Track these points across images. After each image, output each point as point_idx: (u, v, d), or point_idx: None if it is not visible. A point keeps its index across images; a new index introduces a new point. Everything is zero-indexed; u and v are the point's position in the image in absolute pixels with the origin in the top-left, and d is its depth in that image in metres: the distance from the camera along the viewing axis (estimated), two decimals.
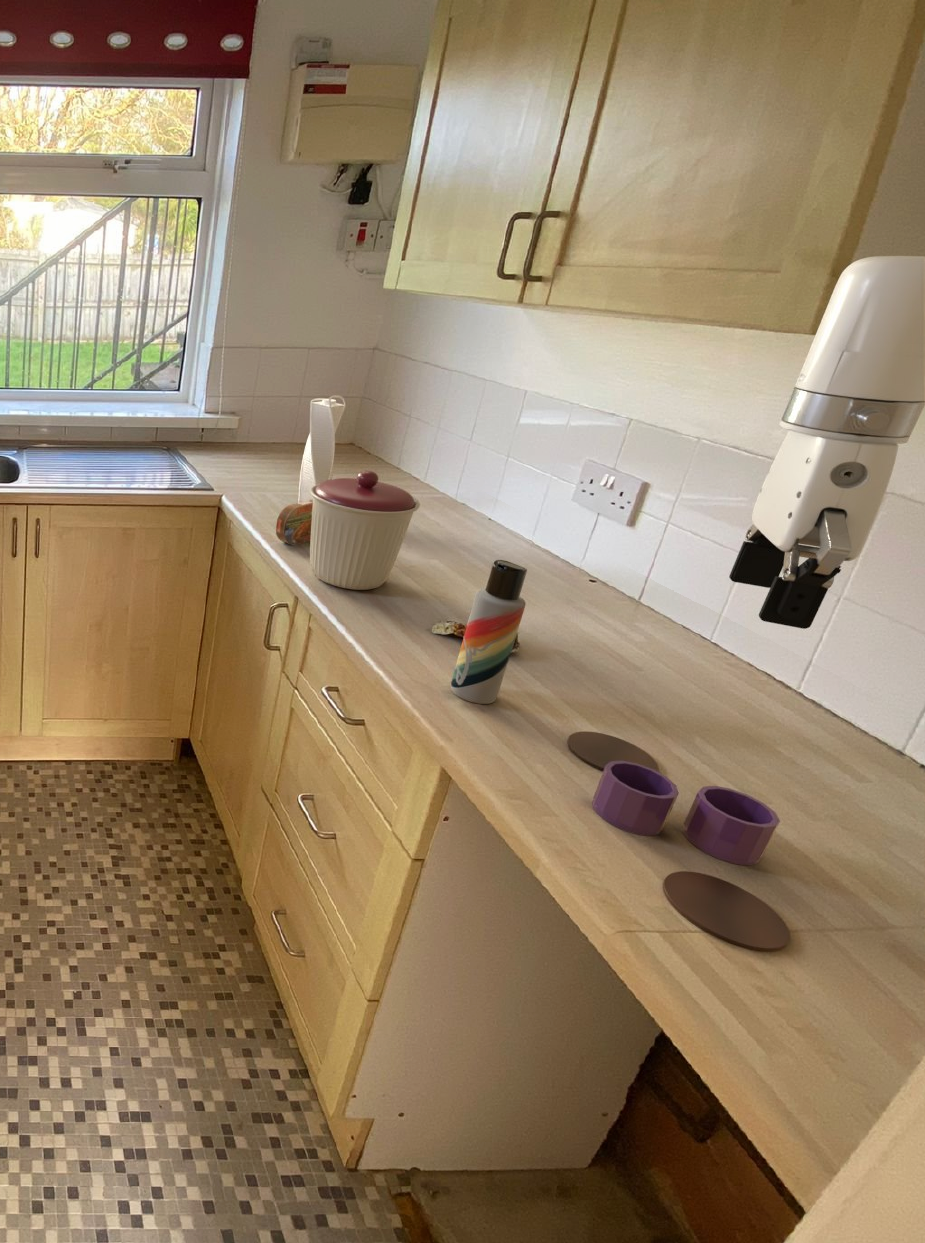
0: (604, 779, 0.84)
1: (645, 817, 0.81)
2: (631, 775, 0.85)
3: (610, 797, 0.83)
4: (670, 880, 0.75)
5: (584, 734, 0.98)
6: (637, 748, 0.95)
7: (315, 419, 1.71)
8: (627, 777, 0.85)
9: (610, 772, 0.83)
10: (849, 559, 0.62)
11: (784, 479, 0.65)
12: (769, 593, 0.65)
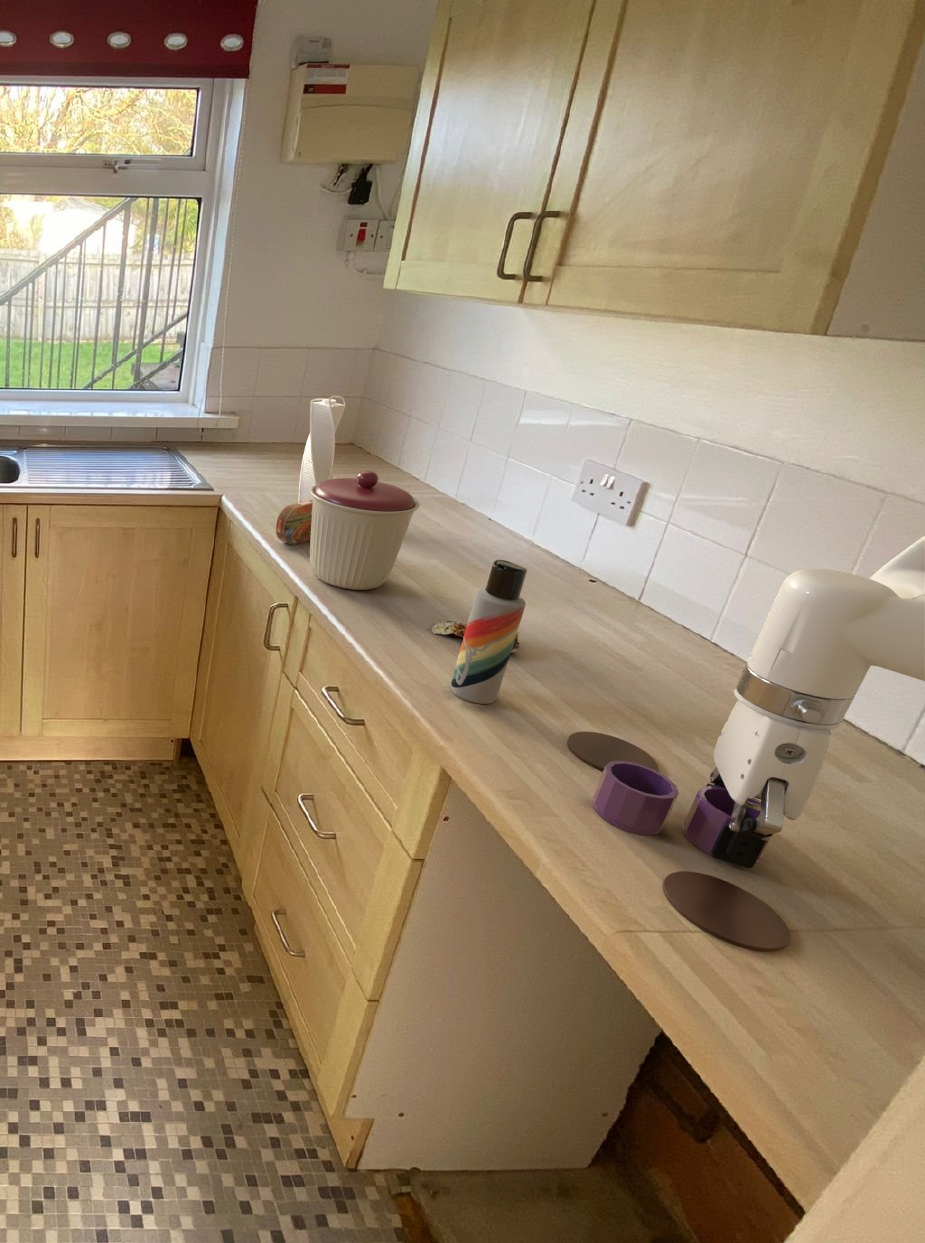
0: (604, 779, 0.84)
1: (645, 817, 0.81)
2: (631, 775, 0.85)
3: (610, 797, 0.83)
4: (670, 880, 0.75)
5: (584, 734, 0.98)
6: (637, 748, 0.95)
7: (315, 419, 1.71)
8: (627, 777, 0.85)
9: (610, 772, 0.83)
10: (791, 819, 0.73)
11: (738, 740, 0.76)
12: (719, 836, 0.77)
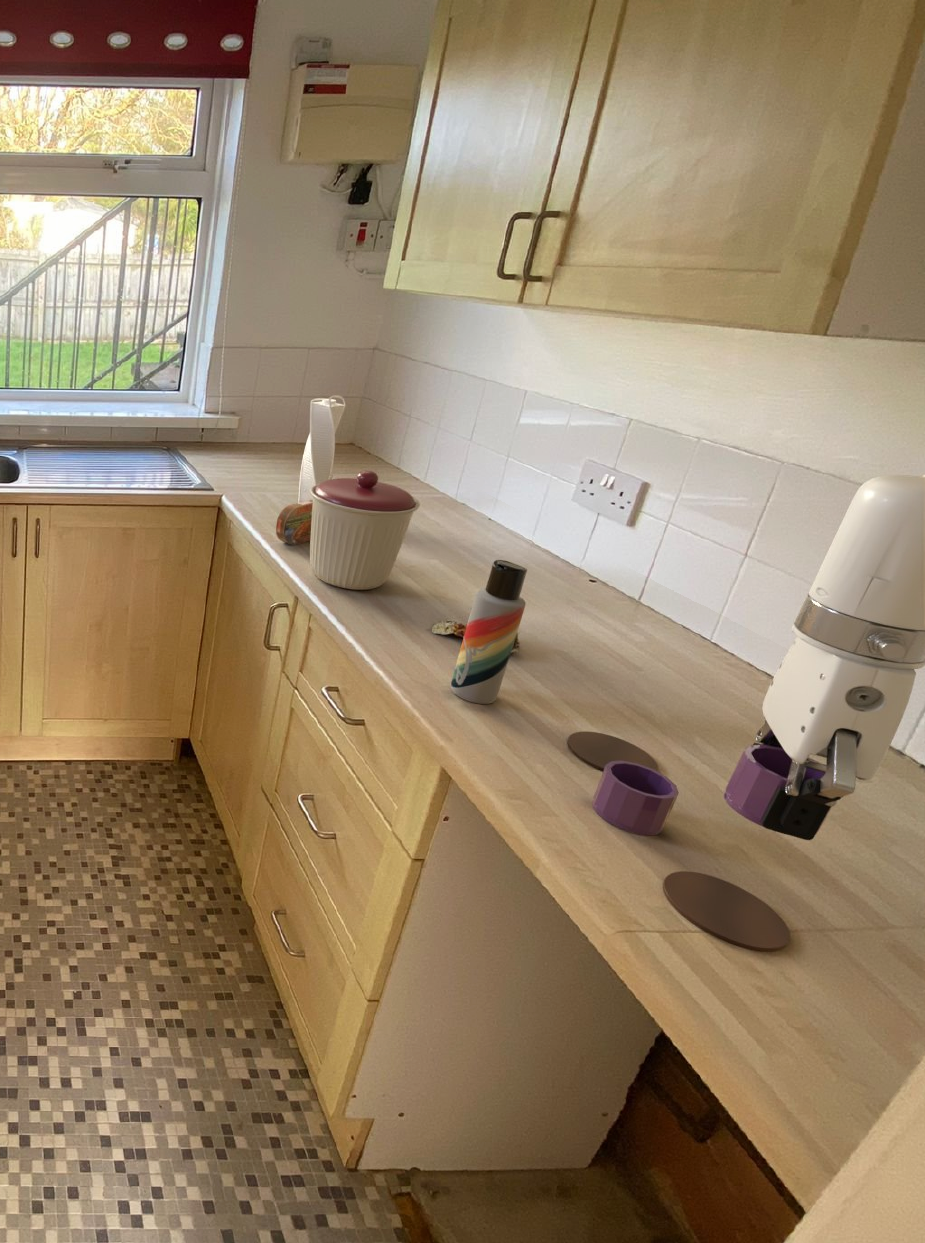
0: (604, 779, 0.84)
1: (645, 817, 0.81)
2: (631, 775, 0.85)
3: (610, 797, 0.83)
4: (670, 880, 0.75)
5: (584, 734, 0.98)
6: (637, 748, 0.95)
7: (315, 419, 1.71)
8: (627, 777, 0.85)
9: (610, 772, 0.83)
10: (863, 779, 0.60)
11: (796, 686, 0.63)
12: (772, 802, 0.65)
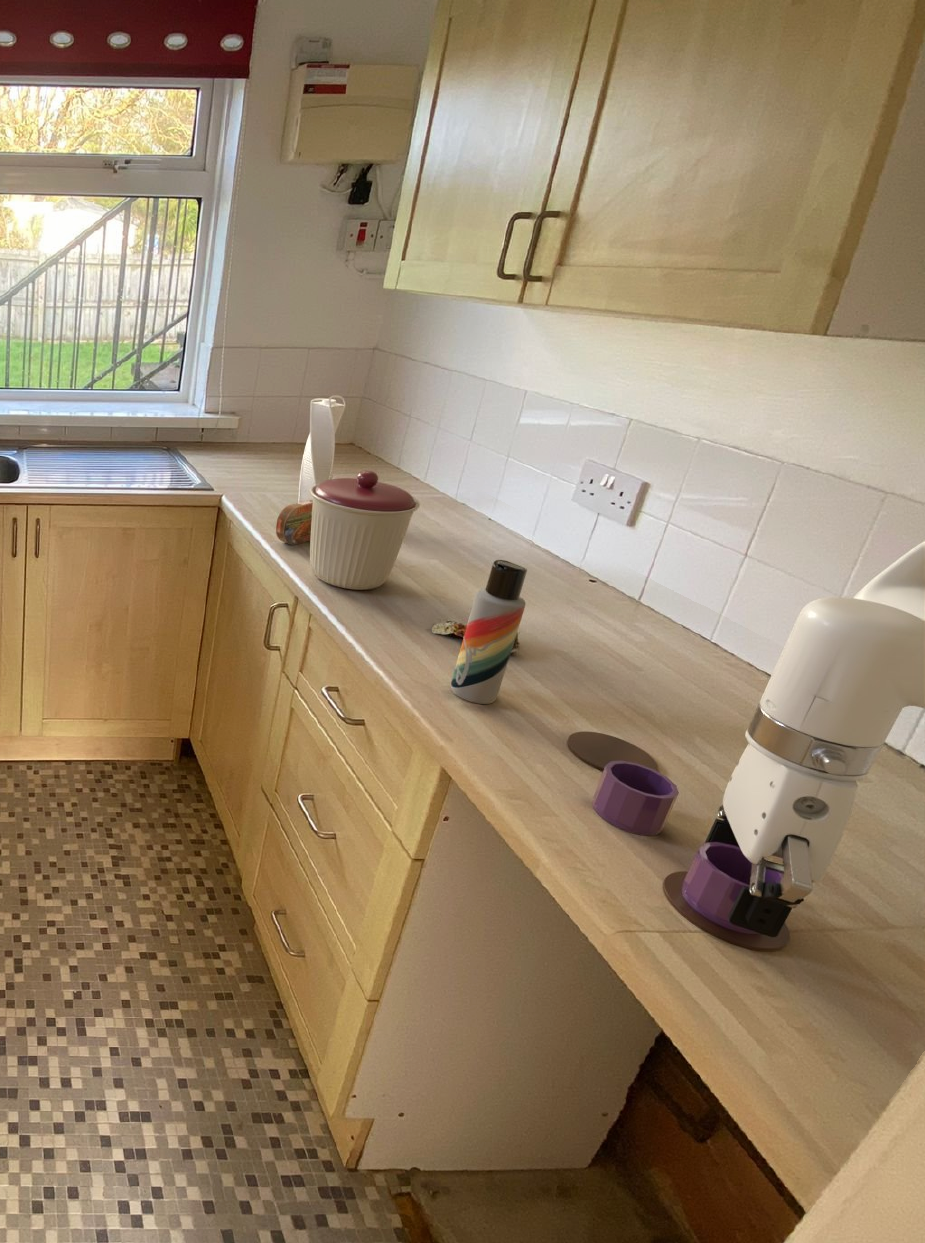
0: (604, 779, 0.84)
1: (645, 817, 0.81)
2: (631, 775, 0.85)
3: (610, 797, 0.83)
4: (670, 880, 0.75)
5: (584, 734, 0.98)
6: (637, 748, 0.95)
7: (315, 419, 1.71)
8: (627, 777, 0.85)
9: (610, 772, 0.83)
10: (813, 881, 0.64)
11: (750, 789, 0.67)
12: (737, 900, 0.67)
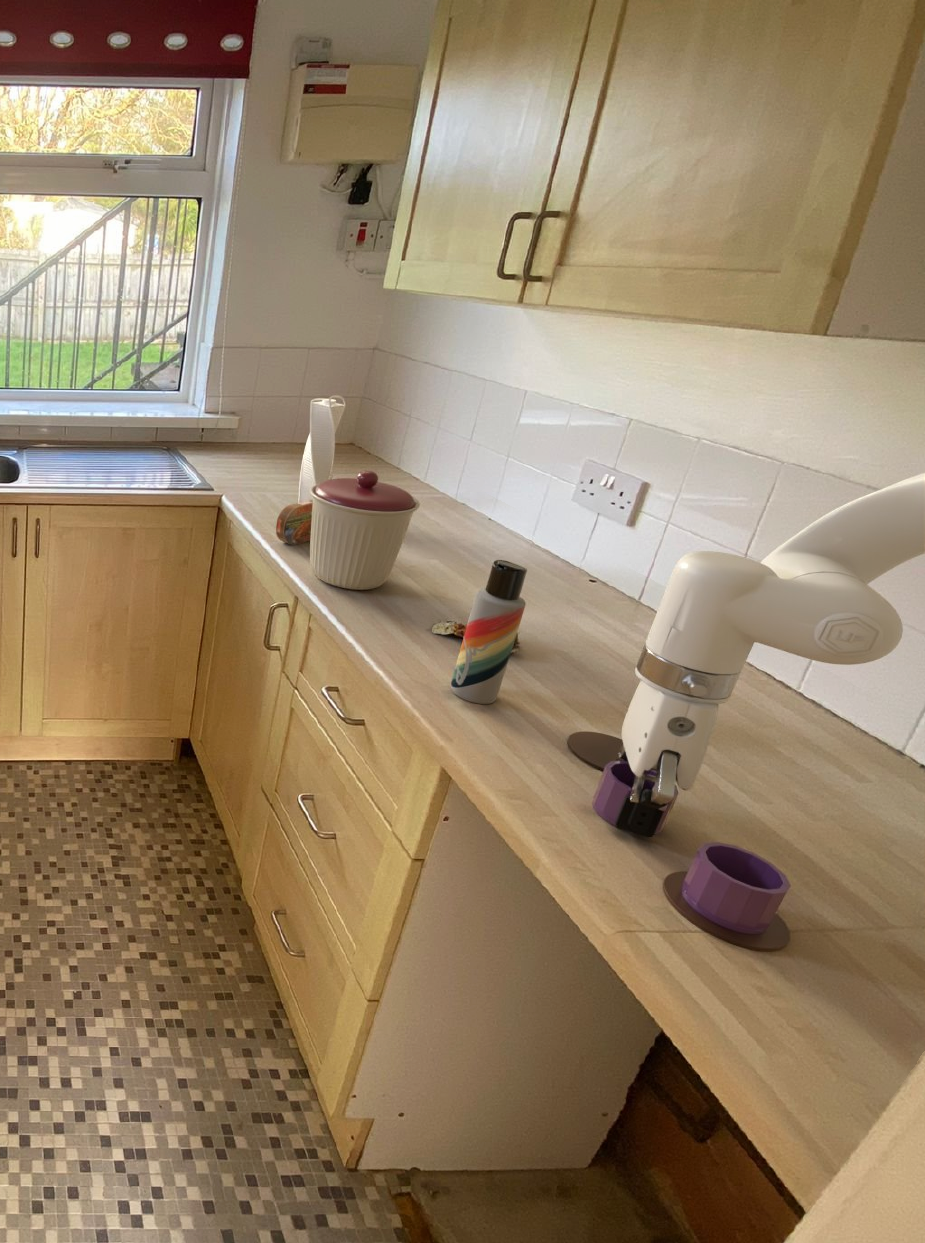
0: (604, 779, 0.84)
1: None
2: (631, 775, 0.85)
3: (610, 797, 0.83)
4: (670, 880, 0.75)
5: (584, 734, 0.98)
6: None
7: (315, 419, 1.71)
8: (627, 777, 0.85)
9: (610, 772, 0.83)
10: (685, 789, 0.77)
11: (638, 715, 0.80)
12: (621, 807, 0.81)
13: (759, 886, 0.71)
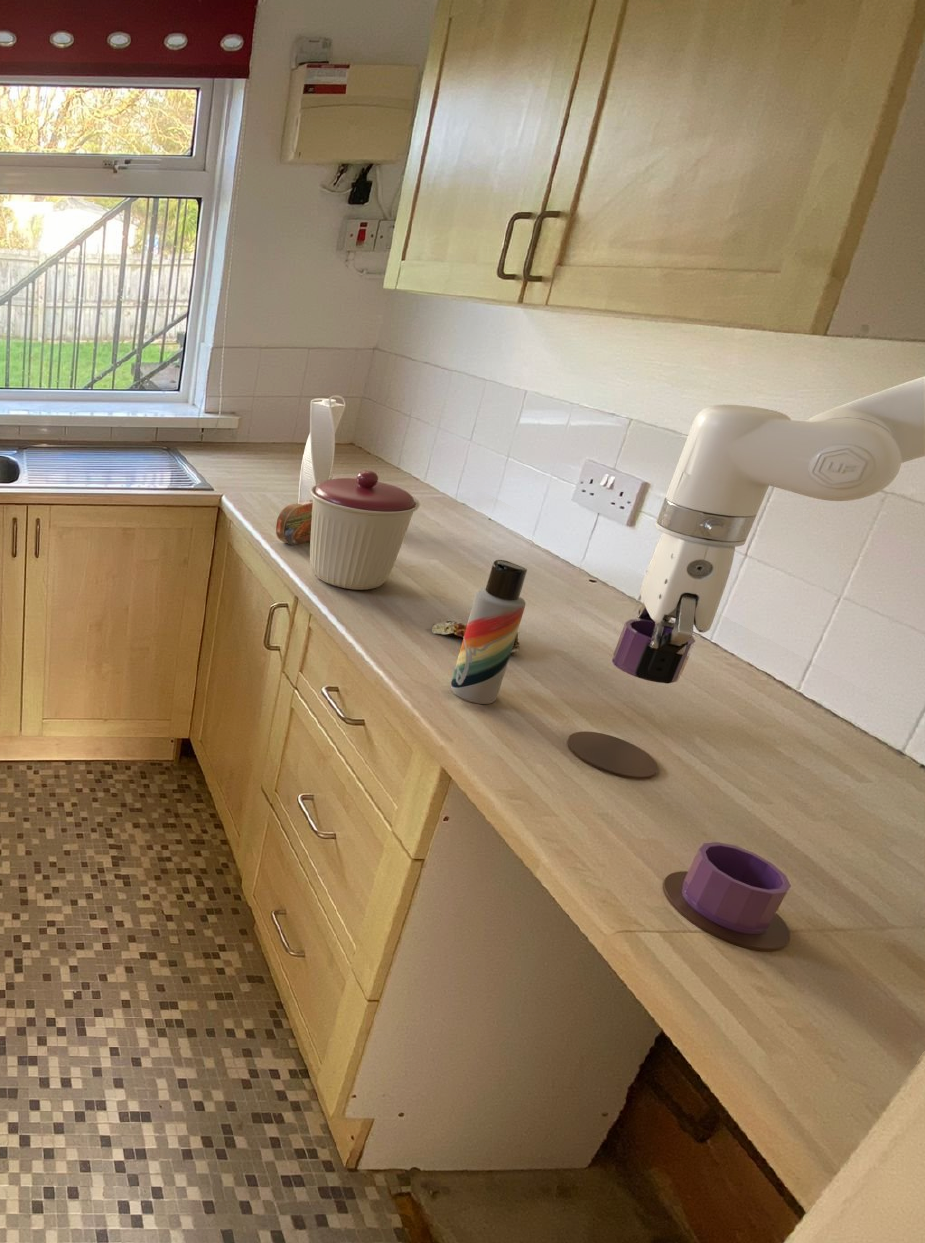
0: (624, 634, 0.89)
1: None
2: (649, 632, 0.90)
3: (630, 649, 0.88)
4: (670, 880, 0.75)
5: (584, 734, 0.98)
6: (637, 748, 0.95)
7: (315, 419, 1.71)
8: (645, 635, 0.90)
9: (630, 626, 0.88)
10: (702, 631, 0.82)
11: (658, 567, 0.85)
12: (642, 656, 0.86)
13: (759, 886, 0.71)
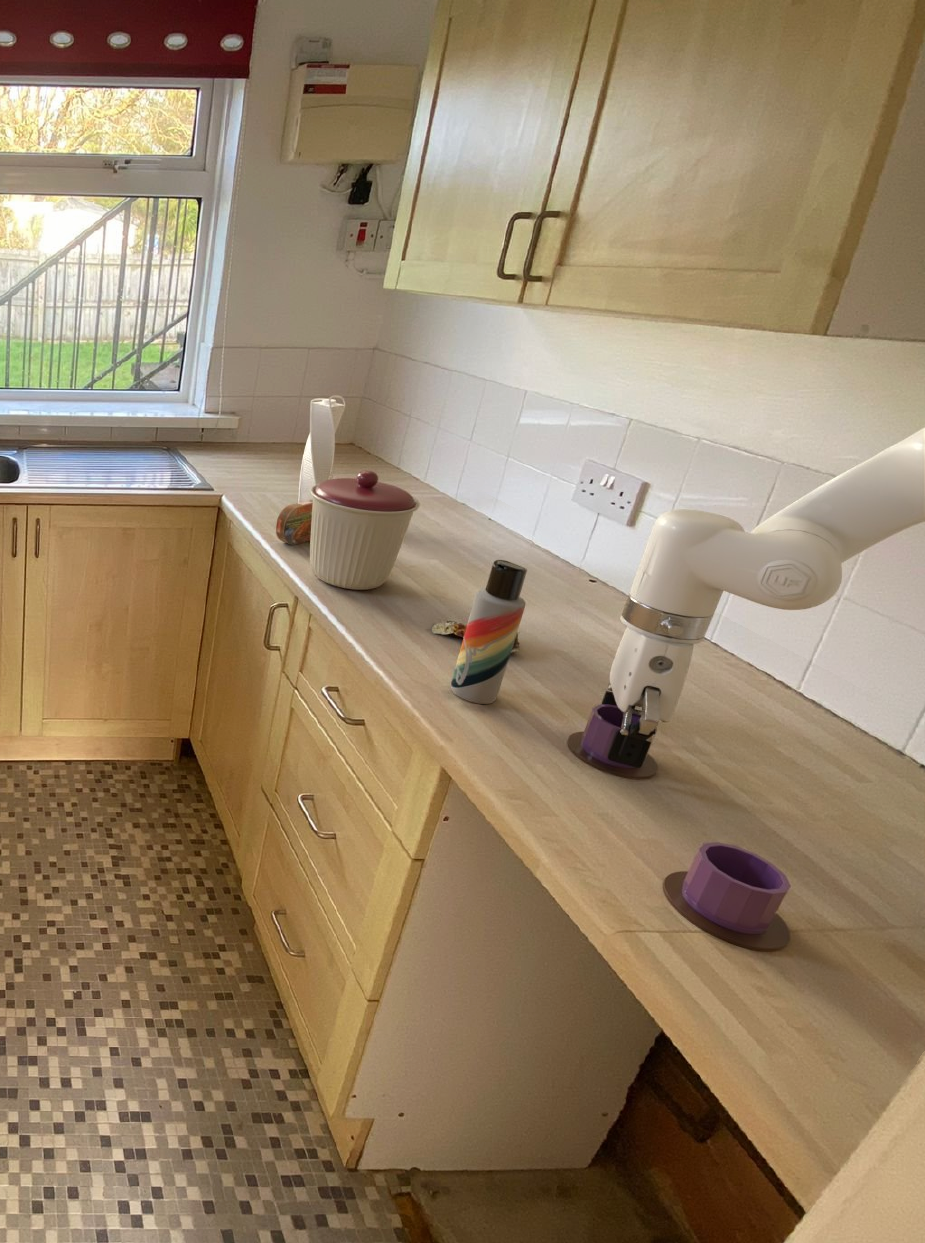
0: (591, 720, 0.94)
1: None
2: (615, 717, 0.95)
3: (596, 735, 0.93)
4: (670, 880, 0.75)
5: None
6: None
7: (315, 419, 1.71)
8: (612, 719, 0.95)
9: (596, 713, 0.93)
10: (665, 722, 0.86)
11: (623, 658, 0.89)
12: (613, 741, 0.89)
13: (759, 886, 0.71)
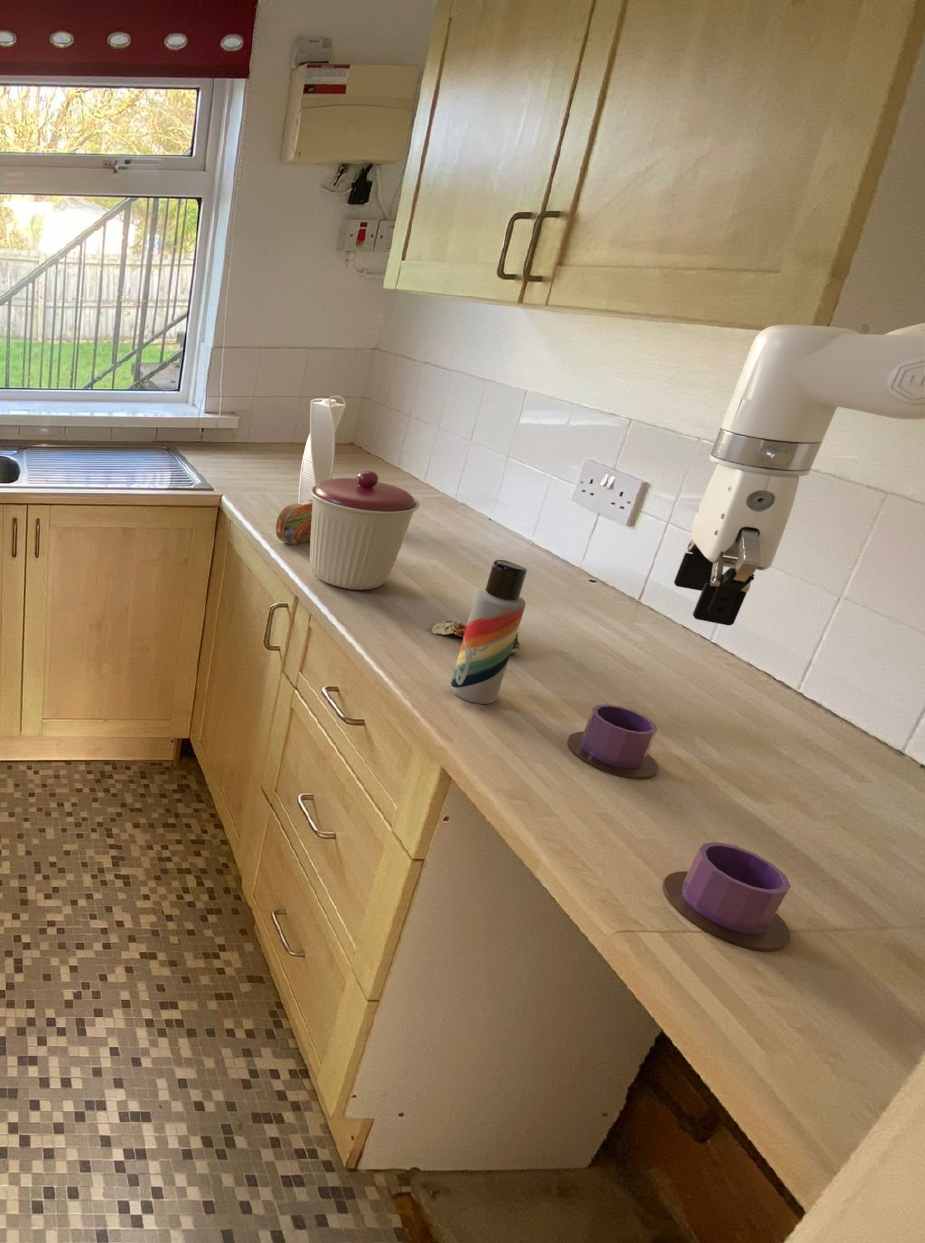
0: (591, 720, 0.94)
1: (627, 751, 0.91)
2: (615, 717, 0.95)
3: (596, 735, 0.93)
4: (670, 880, 0.75)
5: None
6: None
7: (315, 419, 1.71)
8: (612, 719, 0.95)
9: (596, 713, 0.93)
10: (763, 569, 0.76)
11: (712, 503, 0.79)
12: (700, 596, 0.79)
13: (759, 886, 0.71)
